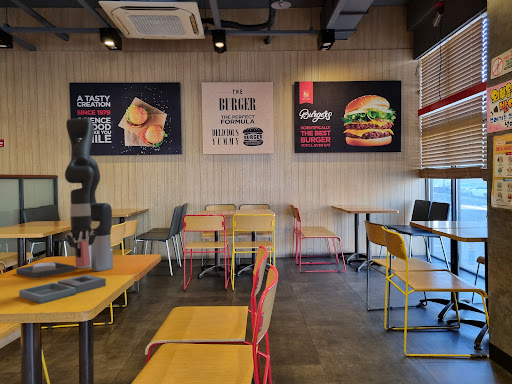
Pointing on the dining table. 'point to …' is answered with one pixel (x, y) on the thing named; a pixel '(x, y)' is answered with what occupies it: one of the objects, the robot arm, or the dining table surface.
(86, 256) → the pink block
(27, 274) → the frame
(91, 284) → the grey square-hole plate
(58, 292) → the tray
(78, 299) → the dining table surface
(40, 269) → the charger
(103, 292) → the dining table surface
